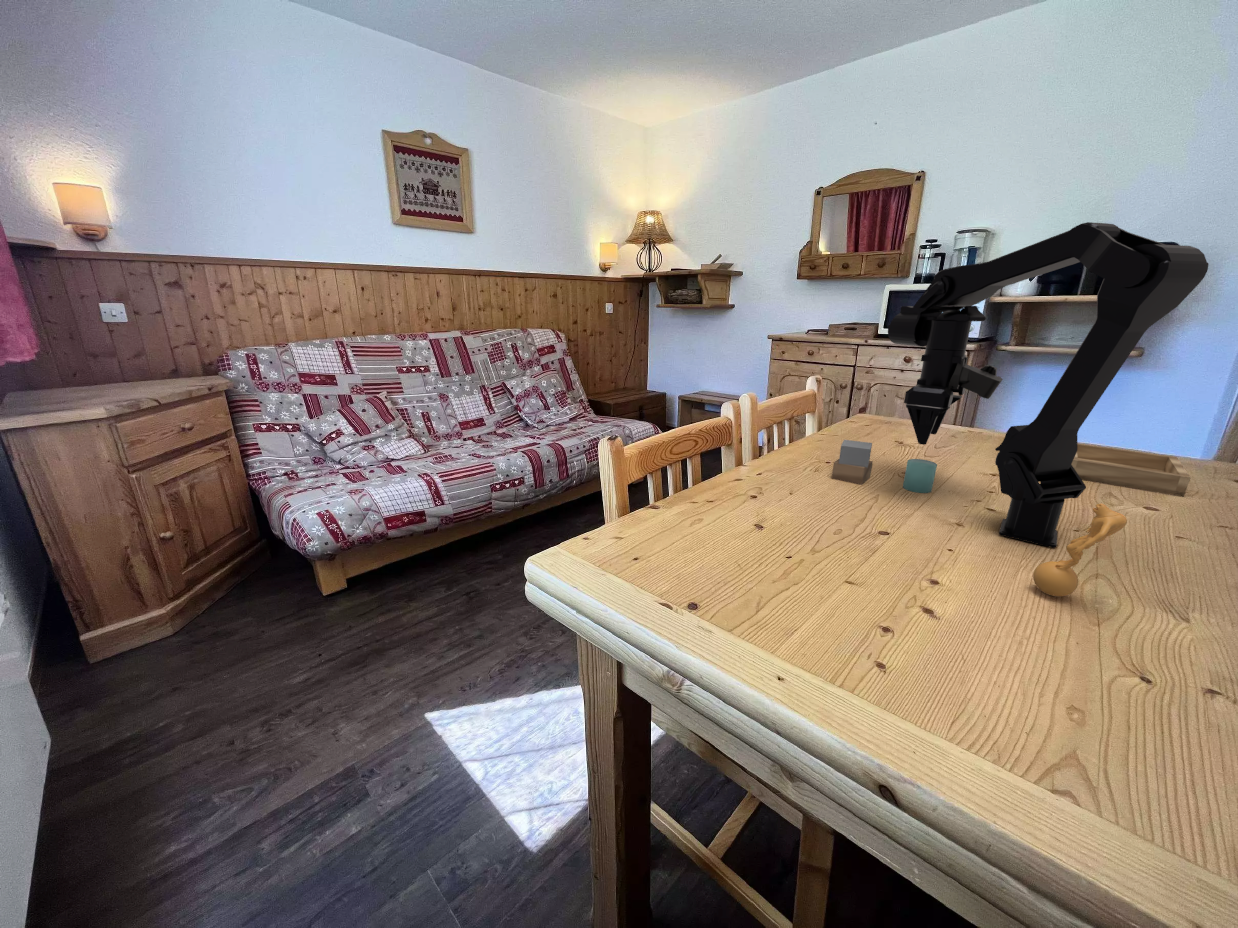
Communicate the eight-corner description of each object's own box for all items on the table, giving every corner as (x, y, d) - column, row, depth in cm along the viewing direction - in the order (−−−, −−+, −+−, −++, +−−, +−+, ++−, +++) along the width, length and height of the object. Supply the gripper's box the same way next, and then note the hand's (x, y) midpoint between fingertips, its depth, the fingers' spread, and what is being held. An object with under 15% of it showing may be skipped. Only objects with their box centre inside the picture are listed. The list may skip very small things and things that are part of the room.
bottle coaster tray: (1183, 496, 88) (1190, 477, 87) (1064, 476, 98) (1069, 459, 96) (1170, 474, 99) (1176, 456, 98) (1064, 458, 109) (1069, 442, 108)
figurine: (1038, 574, 63) (1065, 485, 59) (1102, 595, 58) (1136, 500, 55) (1020, 599, 58) (1048, 502, 54) (1089, 623, 53) (1125, 520, 49)
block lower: (861, 486, 93) (864, 468, 92) (831, 479, 97) (833, 462, 96) (869, 478, 97) (872, 461, 96) (840, 472, 101) (843, 455, 100)
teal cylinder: (928, 495, 88) (934, 468, 87) (900, 489, 91) (904, 463, 90) (933, 488, 92) (939, 462, 90) (905, 482, 95) (910, 457, 93)
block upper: (867, 467, 93) (870, 449, 91) (838, 463, 95) (841, 445, 94) (869, 460, 97) (872, 442, 96) (841, 456, 99) (844, 439, 98)
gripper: (999, 356, 72) (975, 459, 77) (1009, 348, 85) (988, 436, 90) (912, 351, 79) (895, 446, 84) (934, 344, 92) (919, 426, 97)
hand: (927, 438), depth 88 cm, fingers open, 9 cm apart
